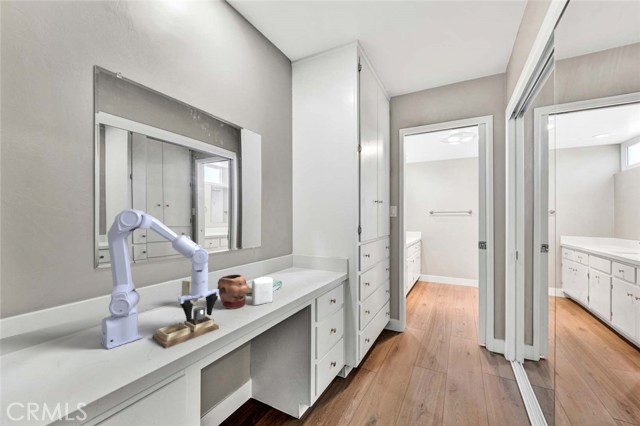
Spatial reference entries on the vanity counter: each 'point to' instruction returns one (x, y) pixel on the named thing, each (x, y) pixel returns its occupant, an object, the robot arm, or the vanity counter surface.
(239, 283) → the decorative planter
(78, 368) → the vanity counter surface
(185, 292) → the skincare box
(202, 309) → the grey metal peg
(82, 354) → the vanity counter surface
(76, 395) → the vanity counter surface
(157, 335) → the socket board
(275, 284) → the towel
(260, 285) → the photo printer
